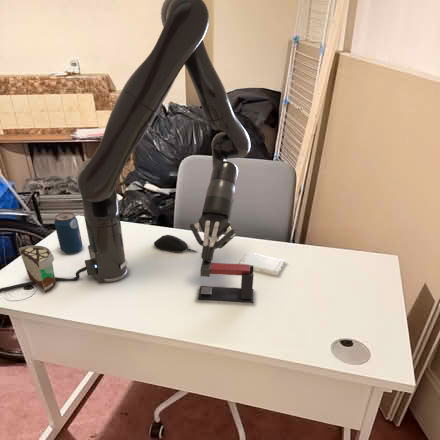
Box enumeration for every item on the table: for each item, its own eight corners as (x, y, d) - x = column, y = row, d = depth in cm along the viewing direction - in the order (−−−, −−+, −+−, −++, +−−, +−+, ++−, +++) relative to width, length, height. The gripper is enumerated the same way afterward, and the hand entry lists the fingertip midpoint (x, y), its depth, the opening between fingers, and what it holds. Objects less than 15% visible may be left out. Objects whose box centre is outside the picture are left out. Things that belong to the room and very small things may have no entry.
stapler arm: (200, 276, 103) (200, 269, 101) (203, 264, 108) (202, 258, 106) (249, 278, 102) (249, 272, 101) (249, 267, 107) (250, 260, 106)
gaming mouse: (191, 256, 128) (191, 245, 125) (150, 248, 132) (149, 237, 130) (199, 247, 133) (199, 237, 130) (159, 240, 137) (158, 229, 134)
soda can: (87, 249, 130) (80, 215, 123) (68, 257, 126) (60, 222, 119) (75, 243, 134) (68, 209, 127) (57, 250, 129) (48, 216, 123)
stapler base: (197, 301, 107) (197, 273, 102) (200, 289, 112) (200, 261, 107) (253, 304, 107) (255, 276, 101) (253, 292, 111) (255, 264, 106)
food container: (68, 286, 112) (60, 255, 107) (47, 294, 109) (39, 263, 103) (47, 270, 119) (39, 240, 114) (27, 277, 115) (17, 247, 110)
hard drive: (239, 263, 122) (277, 271, 118) (248, 251, 128) (285, 259, 124) (238, 267, 123) (277, 276, 119) (247, 255, 129) (284, 264, 125)
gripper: (192, 191, 104) (178, 254, 102) (241, 197, 102) (228, 261, 99) (198, 203, 112) (186, 261, 109) (244, 208, 109) (232, 269, 106)
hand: (206, 261), depth 104 cm, fingers closed
